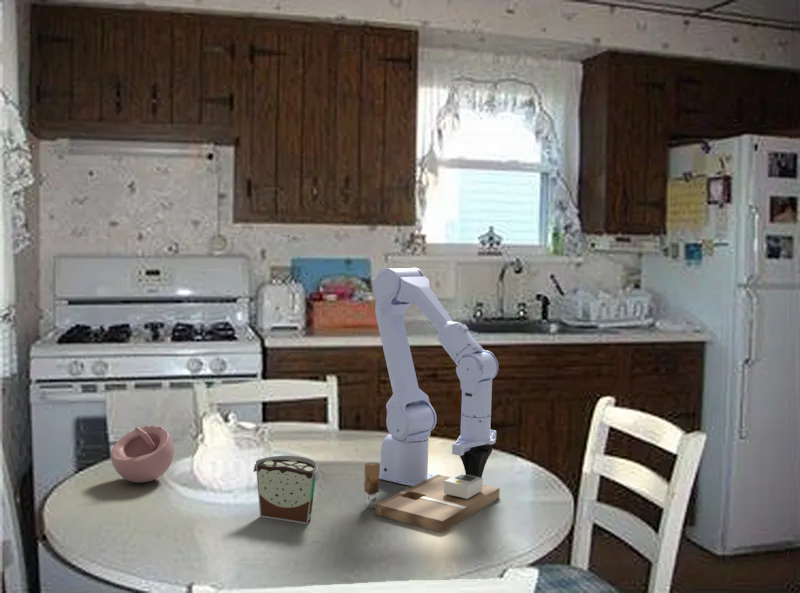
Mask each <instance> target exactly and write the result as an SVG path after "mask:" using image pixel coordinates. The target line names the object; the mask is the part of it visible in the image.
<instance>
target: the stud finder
mask: <svg viewBox="0 0 800 593" xmlns="http://www.w3.org/2000/svg"><path fill="white" fill-rule="evenodd" d="M450 477H451V478H449V479H447V480H445V481H444V493H445V494H449V495H453V496H457V497H462V498H466V499H468V498H470V497H471V496H473V495H475V494H477V493H479V492H480V491H482V485H484V483H483V482H484V481H483V480H484V478H483V477H482V478H480V477H475V476H471V475H466V473H461V472H458V474H455V475H453V476H450Z"/></svg>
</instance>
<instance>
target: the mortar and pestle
mask: <svg viewBox="0 0 800 593" xmlns="http://www.w3.org/2000/svg"><path fill="white" fill-rule="evenodd" d="M174 446H175V445H174V442H173V439H172V437H171V435H170V434H169V432H168V430H167V429H165V428H164V427H162V426H158V425H157V426H156V425H144V426H142V427H139V426H136V427H135V428H134V429H133V430H132V431H130V432H127V433H126V434H125V435H124V436H122V437H121V438H119V439H118V440H117V441H116V443H114V445H113V447H112V448H111V450H110V451H111V452H110V460H111V461H110V462H111V464H112V467H113V468H114V470H115V471H116V473H117V474H118V475H119V476H121V478H123V479H124V480H126V481H129V482H132V483H135V484H137V483H139V484H142V483H144V484H145V483H149V482H152V481H155V480H157V479H159V478H160V477H161V476H162V475H164V474H165V473H166V472H167V471H168V469H170V466H171V464H172V463H173V460H174V455H175V447H174Z"/></svg>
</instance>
